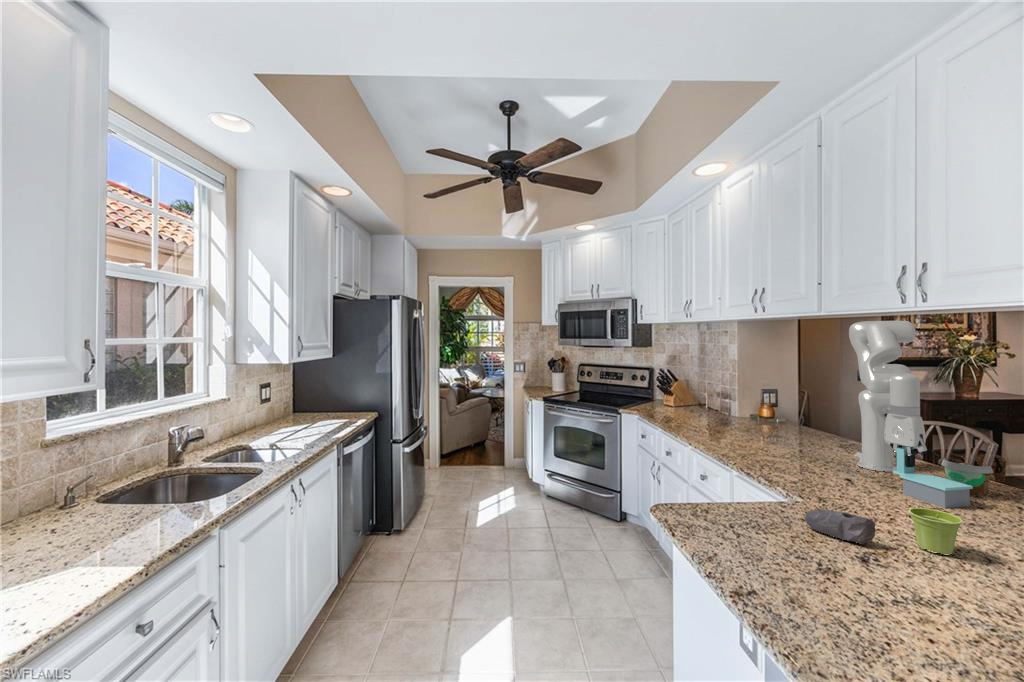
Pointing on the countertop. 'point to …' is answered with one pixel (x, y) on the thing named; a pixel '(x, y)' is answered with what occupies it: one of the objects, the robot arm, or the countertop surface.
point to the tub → (936, 495)
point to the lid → (925, 475)
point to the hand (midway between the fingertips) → (905, 465)
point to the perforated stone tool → (841, 525)
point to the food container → (969, 475)
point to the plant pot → (935, 529)
